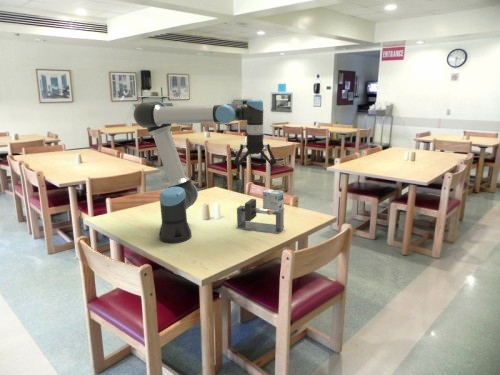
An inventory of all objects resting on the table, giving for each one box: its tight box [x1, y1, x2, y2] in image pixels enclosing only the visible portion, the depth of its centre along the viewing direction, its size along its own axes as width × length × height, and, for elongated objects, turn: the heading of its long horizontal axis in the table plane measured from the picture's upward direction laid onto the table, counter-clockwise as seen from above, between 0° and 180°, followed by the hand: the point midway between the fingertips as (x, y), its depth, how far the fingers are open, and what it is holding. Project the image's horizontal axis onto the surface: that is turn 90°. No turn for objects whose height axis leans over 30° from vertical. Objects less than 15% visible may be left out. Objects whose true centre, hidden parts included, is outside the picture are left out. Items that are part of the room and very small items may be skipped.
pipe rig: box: [236, 205, 285, 235], centre depth 187 cm, size 23×10×10 cm, turn 68°
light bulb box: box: [262, 188, 285, 210], centre depth 218 cm, size 11×7×11 cm, turn 58°
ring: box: [244, 198, 257, 222], centre depth 187 cm, size 2×9×9 cm, turn 158°
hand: (254, 178), depth 177 cm, fingers open, 13 cm apart
